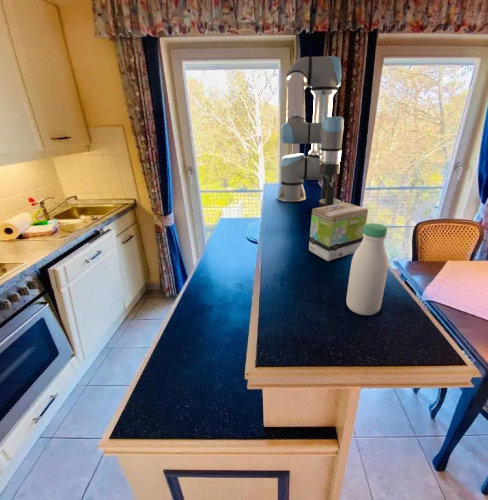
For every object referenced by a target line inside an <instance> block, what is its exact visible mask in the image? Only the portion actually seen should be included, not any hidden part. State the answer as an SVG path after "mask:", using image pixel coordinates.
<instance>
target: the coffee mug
mask: <svg viewBox="0 0 488 500" xmlns="http://www.w3.org/2000/svg"><path fill="white" fill-rule="evenodd" d="M318 203H319V207H325V204H324V203H325V199H321V198H320V199H319V201H318ZM340 203H343V202H342V201H341V200H340V199H338V198H333V205H335V204H340Z"/></svg>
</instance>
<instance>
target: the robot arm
mask: <svg viewBox="0 0 488 500" xmlns="http://www.w3.org/2000/svg"><path fill="white" fill-rule="evenodd" d="M284 79H285V80H284V85H285V89H286V122H282V124H281V134H280V136H281V137H280V138H281V139H280V140H281V142H282V143H283V144H287V145H288V144H290V145H294V144H296V145H298V144H300V145H301V144H304V145H305V144H311V149H310V150H309V151H308V153H307V156H305V154H304V153H293V154H287V155H284V156H283V157H282V158H281V160H280V187H279V190H278V193H277V200H278V202H283V203H289V204H291V203H292V204H293V203H294V204H295V203H301V202H305V201H306V199H307V196H306V191H305V189H304V181H322V183H321V195H320V200H321V199H325V203H324V204H325V206H330V205H333V198H334V196H335V185H336V182H335V178H334V175H338V174H340V167H341V164H340V162H341V158H342V145H343V135H344V129H345V126H344V124H345V123H344V122H345V119H344V117H343V116H332V113H333V101H334V100H333V98H334V95H335V94H336V92H337V91H338V90H337V89H338V88H339V87H341V83H342V64H341V59H340V57H338V56H331V55H325V56H324V55H323V56H303V57H301V58H298V59H297V60H296V61H295V62H294V63H292V64H291V66H290V67H289V68H288V70H287V72H286V75H285V78H284ZM306 88H311V89H310V92H311V94H312V95H313V98H314V99H313V113H312V114H313V115H312V122H306V95H305V94H306V90H305V89H306ZM334 199H335V198H334Z"/></svg>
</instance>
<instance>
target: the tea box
mask: <svg viewBox="0 0 488 500" xmlns="http://www.w3.org/2000/svg"><path fill="white" fill-rule="evenodd" d="M368 214H369V209H368V208H365V207H362V206H359V205H355V204H352V203H350V202H346V201H345V202H342V203H340V204H335V205H330V206H325V207H320V206H319V207H314V208H312V209H311V218H310V230H309V241H308V242H309V243H308V251H310V252H311V253H313V254H314V255H316V256H318V257H319V258H321V259H323V260H325V261H327V262H331V261H333V260H336V259H338V258H343V257H346V256H348V255H352V254H355V252H356V250H357V249H358V247H359V246H360V244H361V242H362V240H363V237H364V236H363V228H364V225H366V224H367V219H368Z"/></svg>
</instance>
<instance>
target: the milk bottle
mask: <svg viewBox="0 0 488 500" xmlns="http://www.w3.org/2000/svg"><path fill="white" fill-rule="evenodd" d="M387 235H388V227H387V226H386V225H384V224H381V223H375V222H369V223H366V225H364V228H363V236H364V237H363V240H362V242H361V244H360V246H359V247H358V249H357V250H356V252H355V253H353V255H352V259H351V264H350V268H349V276H348V283H347V293H346V299H345V300H346V301H345V302H346V306H347V307H348V309H349V310H350V311H352V312H354V313H355V314H357V315H362V316H374V315H375V314H377V313H379V311H380V310H381V307H382V303H383V297H384V291H385V287H386V283H387V282H386V281H387V276H388V270H389V258H388V253H387V251H386V246H385V239H386V238H387Z"/></svg>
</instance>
